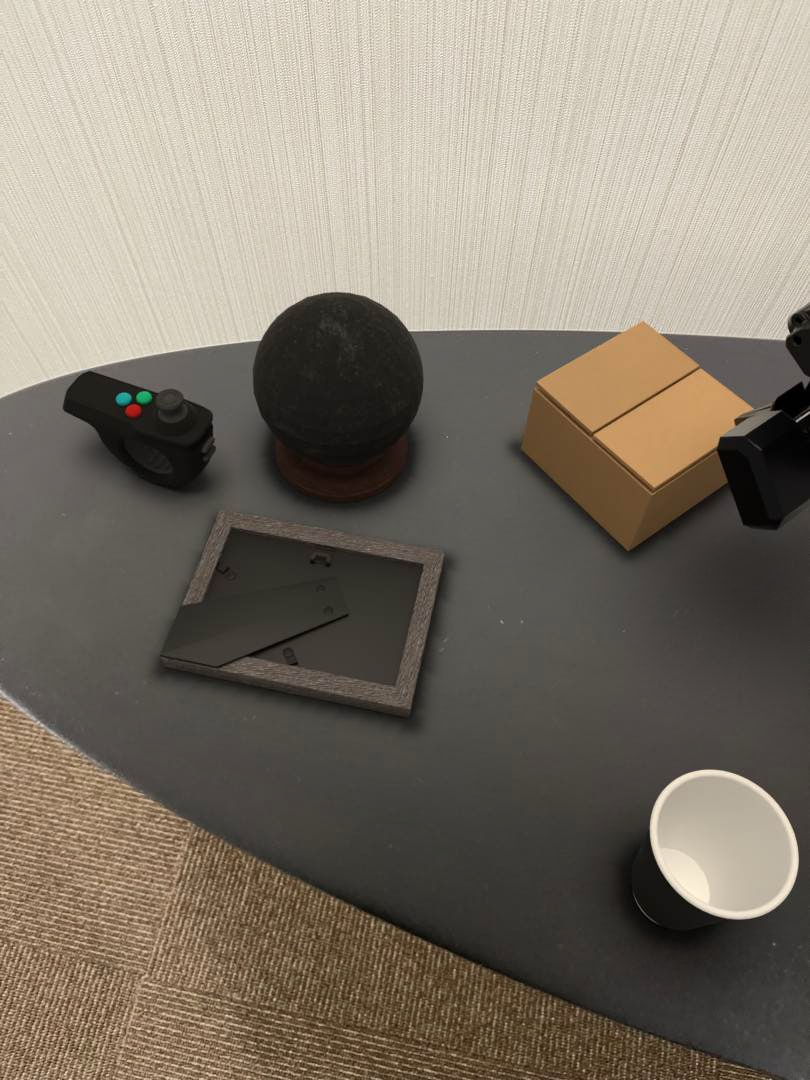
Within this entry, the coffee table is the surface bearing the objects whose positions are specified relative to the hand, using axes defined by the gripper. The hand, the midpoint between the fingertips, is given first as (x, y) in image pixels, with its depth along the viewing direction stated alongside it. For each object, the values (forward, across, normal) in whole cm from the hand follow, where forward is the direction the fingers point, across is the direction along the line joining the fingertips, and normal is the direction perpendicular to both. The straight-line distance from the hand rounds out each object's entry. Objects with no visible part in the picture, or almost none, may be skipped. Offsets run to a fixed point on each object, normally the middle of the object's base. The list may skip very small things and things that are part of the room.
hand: (738, 423), depth 64 cm
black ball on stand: (+25, +18, -8) cm, 32 cm away
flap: (+6, 0, 0) cm, 6 cm away
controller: (+30, +32, -13) cm, 46 cm away
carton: (+14, 0, +3) cm, 14 cm away
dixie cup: (-4, +22, +22) cm, 32 cm away
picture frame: (+17, +29, +1) cm, 34 cm away
